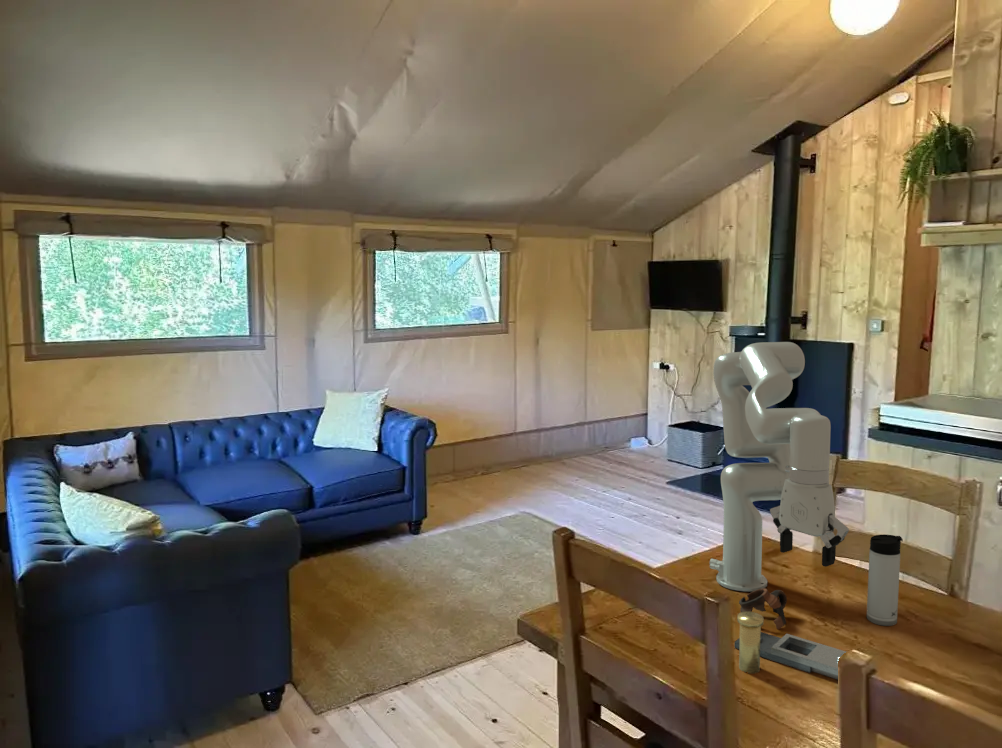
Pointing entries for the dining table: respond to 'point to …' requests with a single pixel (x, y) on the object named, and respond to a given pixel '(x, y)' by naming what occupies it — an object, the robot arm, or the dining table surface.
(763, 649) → the grey plate with socket
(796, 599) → the dining table surface
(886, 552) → the travel mug
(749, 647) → the pin
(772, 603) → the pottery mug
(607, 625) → the dining table surface
